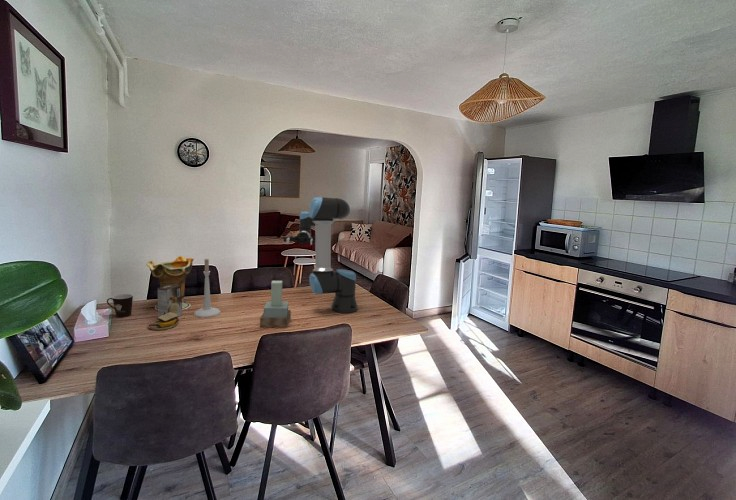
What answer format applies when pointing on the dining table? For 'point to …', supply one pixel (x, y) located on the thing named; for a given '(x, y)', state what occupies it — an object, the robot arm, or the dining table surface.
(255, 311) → the dining table surface
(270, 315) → the slate top block
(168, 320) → the toy sandwich meal
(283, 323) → the walnut base block
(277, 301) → the sage pillar block
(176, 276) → the decorative vase
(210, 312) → the candlestick
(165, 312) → the coffee box
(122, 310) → the coffee mug
